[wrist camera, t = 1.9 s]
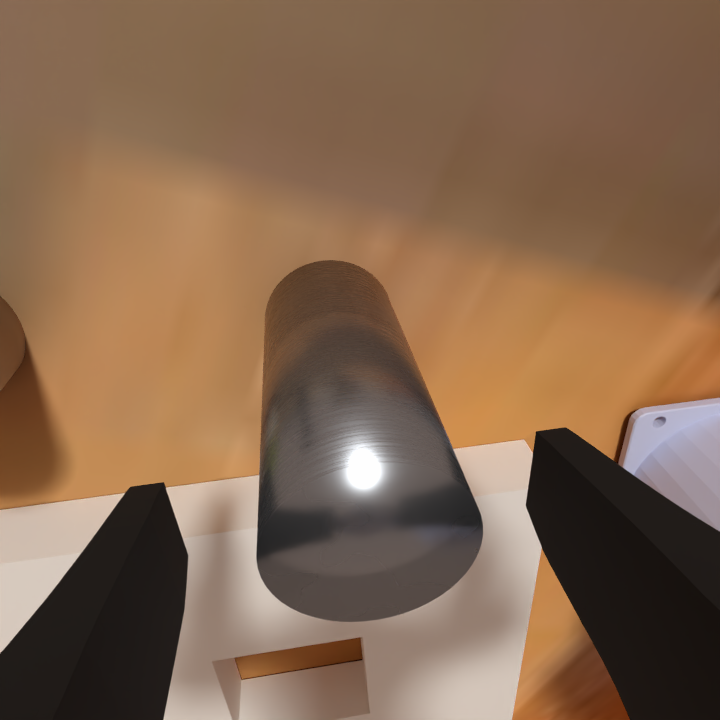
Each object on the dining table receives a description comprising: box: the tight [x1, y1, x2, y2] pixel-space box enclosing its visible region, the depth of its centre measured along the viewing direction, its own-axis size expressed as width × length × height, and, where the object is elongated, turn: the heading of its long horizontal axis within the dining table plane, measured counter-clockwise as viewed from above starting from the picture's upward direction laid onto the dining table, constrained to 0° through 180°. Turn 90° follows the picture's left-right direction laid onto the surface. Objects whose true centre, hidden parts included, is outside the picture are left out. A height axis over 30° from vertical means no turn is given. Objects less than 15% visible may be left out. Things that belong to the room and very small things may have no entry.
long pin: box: [256, 260, 483, 622], centre depth 13 cm, size 4×4×9 cm
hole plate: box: [0, 440, 542, 720], centre depth 24 cm, size 20×20×2 cm
